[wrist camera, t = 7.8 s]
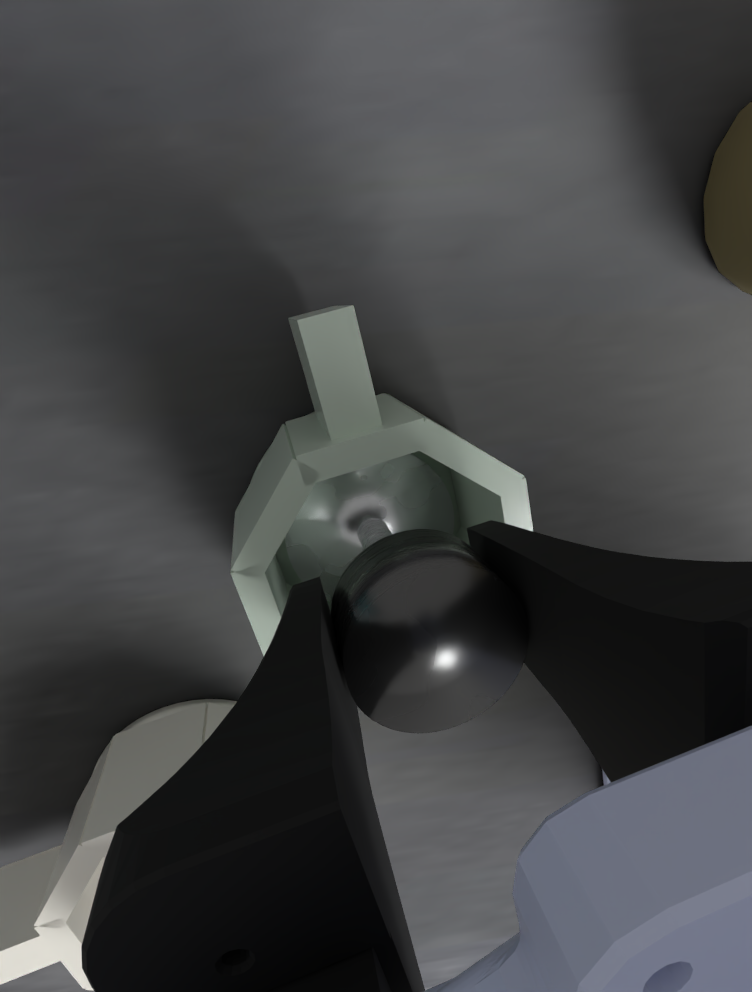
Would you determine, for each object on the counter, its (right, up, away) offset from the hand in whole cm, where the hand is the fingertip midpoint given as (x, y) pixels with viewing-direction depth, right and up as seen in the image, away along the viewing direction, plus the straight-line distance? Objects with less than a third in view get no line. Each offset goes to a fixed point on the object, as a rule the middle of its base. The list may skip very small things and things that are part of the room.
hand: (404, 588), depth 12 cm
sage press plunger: (-1, +1, +4) cm, 4 cm away
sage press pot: (-1, +3, +4) cm, 5 cm away
